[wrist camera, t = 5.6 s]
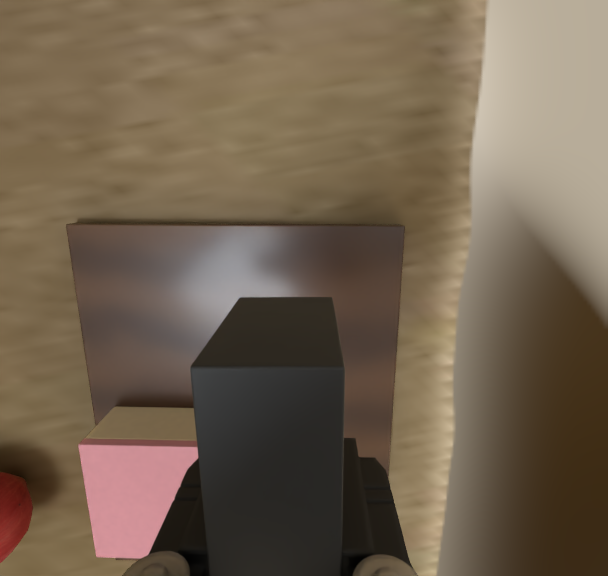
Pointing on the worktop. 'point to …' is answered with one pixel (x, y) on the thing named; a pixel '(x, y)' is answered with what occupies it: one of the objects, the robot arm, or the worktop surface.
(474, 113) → the worktop surface
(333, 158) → the worktop surface
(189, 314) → the cake board
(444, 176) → the worktop surface
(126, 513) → the cake
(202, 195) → the worktop surface
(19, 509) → the onion
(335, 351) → the knife
